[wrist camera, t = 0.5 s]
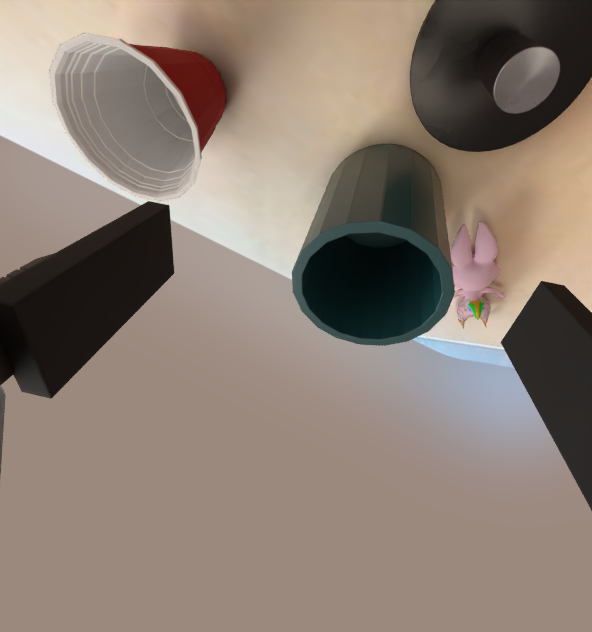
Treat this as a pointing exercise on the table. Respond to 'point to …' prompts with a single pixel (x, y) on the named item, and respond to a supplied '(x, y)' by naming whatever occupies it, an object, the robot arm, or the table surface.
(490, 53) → the lid
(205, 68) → the plastic cup
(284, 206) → the table surface
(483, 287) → the pink toy creature
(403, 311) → the cup
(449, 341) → the table surface
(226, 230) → the table surface
